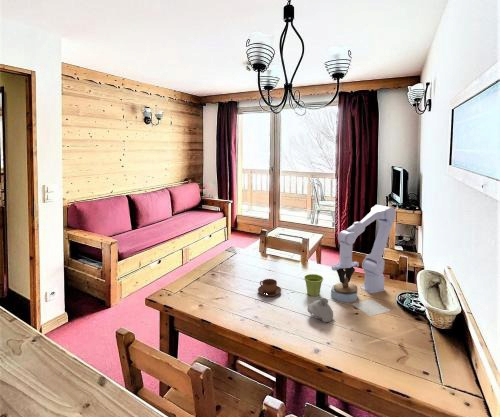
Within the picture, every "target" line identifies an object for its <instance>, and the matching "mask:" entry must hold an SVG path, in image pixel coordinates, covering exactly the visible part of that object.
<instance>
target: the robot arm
mask: <svg viewBox="0 0 500 417" xmlns="http://www.w3.org/2000/svg"><path fill="white" fill-rule="evenodd" d="M396 216H397V212H396V210H395V208H394V207H392V206H386V205H382V204H375V205H374V206H372V207H371V208H370V212H369V213H367V214H366V215H365V216H364V217H363V218H362V219H361V220H360V221H354V222H353V223H352V225H350V226H349V227H348V228H346V229H345V230H341V231H340V232H339V233H338V236H337V241H338V242H339V243H338V245H339V262H338V263H337V264H333V265H331V271H334V272H336V273H337V275H338V279H339V283H344V277H348V283H350V281H351V278H352V276H353V274H354V272H355V271H356V268H355V267H359V263H360V262H358V261H353V244H355V242H356V239H357V238H358V236H360V235H361V234H362V233H364V232H365V230H366V227H367V226H369V225H370V224H371V223H373V222H375V221H376V220H377V221H378V222H379V225H380V226H379V228H378V230H377V234H376V237H375V240H374V243H373V246H372V249H371V252H370V253H369V254H367V255H366V256H365V258H364V259H363V261H362V263H361V267H362V269H363V272H364V284H363V286H360V288H361V290H364V291H365V292H367V293H369V294H376V293H379V292H385V291H386V289H385V280H386V277H385V274H383V273H384V271H385V263H386V262H385V259H383V255H384V252H385V249H386V246H387V243H388V240H389V237H390V234H391V232H392V228H393V225H394V222H395V218H396Z"/></svg>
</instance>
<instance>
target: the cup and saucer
mask: <svg viewBox="0 0 500 417" xmlns="http://www.w3.org/2000/svg"><path fill="white" fill-rule="evenodd" d="M259 285H260V286H258V288H257V292H258V293H259V294H260V295H262V296H265V297H274V296H275V297H276V296H278V295H280V294H281V292H282V288H281V287H280V286H278V282H277V280H276V279H273V278H266V279H263V280H260V282H259ZM264 293H265V294H264ZM266 293H267V294H268V295H266Z"/></svg>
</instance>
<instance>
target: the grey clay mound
mask: <svg viewBox="0 0 500 417" xmlns="http://www.w3.org/2000/svg"><path fill="white" fill-rule="evenodd" d="M306 310H307V312H308V313H309V315H313V316H314V317H315V319H318V320H322V322H325V323H327V322H328V323H330V322H332V321H333V317H334V310H333V309H332V306H331V305H330V304H329V300H328V299H327V298H325V297H321V298H320V299H318V300H315V301H313V302H312V303H309V305H308V306H307V308H306Z"/></svg>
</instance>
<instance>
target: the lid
mask: <svg viewBox="0 0 500 417" xmlns="http://www.w3.org/2000/svg"><path fill="white" fill-rule="evenodd" d="M333 285H334V290H336V291H338V292H344V293H350V292H355V291H357V289H358V286H357V285H355V284H353V283H350V282H348V277H346V276H345V277H344V283H341V282H339V283H336V284H333Z"/></svg>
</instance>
